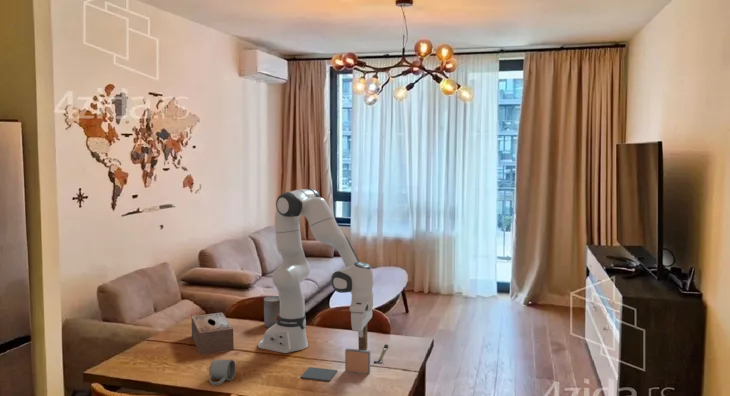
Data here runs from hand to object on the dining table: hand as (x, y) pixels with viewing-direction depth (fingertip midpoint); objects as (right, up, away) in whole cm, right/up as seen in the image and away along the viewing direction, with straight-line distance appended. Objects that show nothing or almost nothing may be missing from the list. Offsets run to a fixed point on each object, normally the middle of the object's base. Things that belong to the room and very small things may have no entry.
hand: (362, 335), depth 234 cm
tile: (-2, -14, -5) cm, 15 cm away
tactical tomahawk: (+10, -12, +13) cm, 21 cm away
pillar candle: (-45, -8, +52) cm, 69 cm away
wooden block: (0, -6, +1) cm, 6 cm away
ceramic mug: (-55, -14, -14) cm, 58 cm away
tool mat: (-17, -14, -8) cm, 24 cm away
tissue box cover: (-69, -10, +26) cm, 75 cm away
